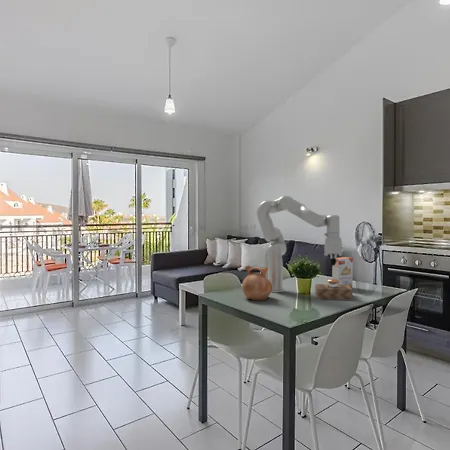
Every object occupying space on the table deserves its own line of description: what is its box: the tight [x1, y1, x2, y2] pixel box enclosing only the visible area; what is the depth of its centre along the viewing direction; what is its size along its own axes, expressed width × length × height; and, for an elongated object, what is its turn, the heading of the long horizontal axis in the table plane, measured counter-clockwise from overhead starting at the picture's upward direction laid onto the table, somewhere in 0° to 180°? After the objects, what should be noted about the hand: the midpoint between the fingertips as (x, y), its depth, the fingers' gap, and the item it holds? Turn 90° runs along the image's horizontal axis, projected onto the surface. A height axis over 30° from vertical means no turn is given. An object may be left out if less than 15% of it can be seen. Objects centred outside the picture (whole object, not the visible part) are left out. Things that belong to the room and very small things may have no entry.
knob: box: [326, 278, 339, 288], centre depth 217 cm, size 7×7×7 cm
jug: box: [241, 264, 272, 301], centre depth 213 cm, size 18×18×20 cm
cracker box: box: [331, 256, 354, 289], centre depth 239 cm, size 14×6×21 cm, turn 120°
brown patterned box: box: [314, 283, 353, 301], centre depth 217 cm, size 20×14×6 cm
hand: (333, 265), depth 217 cm, fingers closed
